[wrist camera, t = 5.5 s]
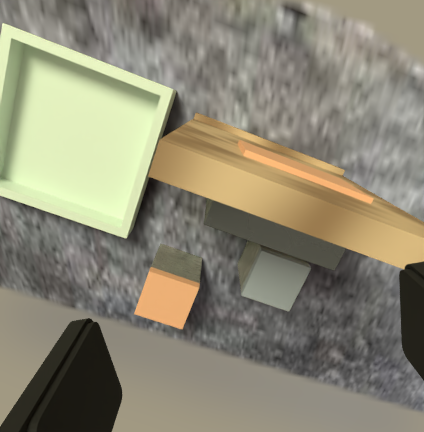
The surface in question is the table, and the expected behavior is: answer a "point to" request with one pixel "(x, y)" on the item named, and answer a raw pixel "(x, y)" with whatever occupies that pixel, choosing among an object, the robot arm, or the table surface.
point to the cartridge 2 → (271, 275)
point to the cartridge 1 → (170, 287)
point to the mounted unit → (283, 197)
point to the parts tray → (76, 132)
